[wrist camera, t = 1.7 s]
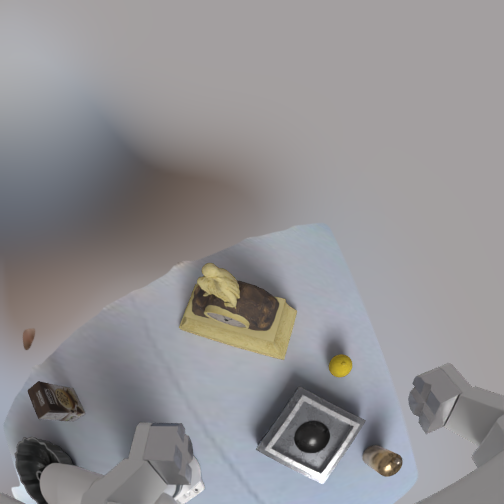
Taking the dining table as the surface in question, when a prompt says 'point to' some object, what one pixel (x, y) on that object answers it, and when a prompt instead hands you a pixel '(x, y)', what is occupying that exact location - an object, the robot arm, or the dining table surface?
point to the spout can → (382, 460)
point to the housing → (310, 435)
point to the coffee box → (55, 402)
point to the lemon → (340, 365)
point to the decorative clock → (238, 314)
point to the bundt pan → (37, 463)
